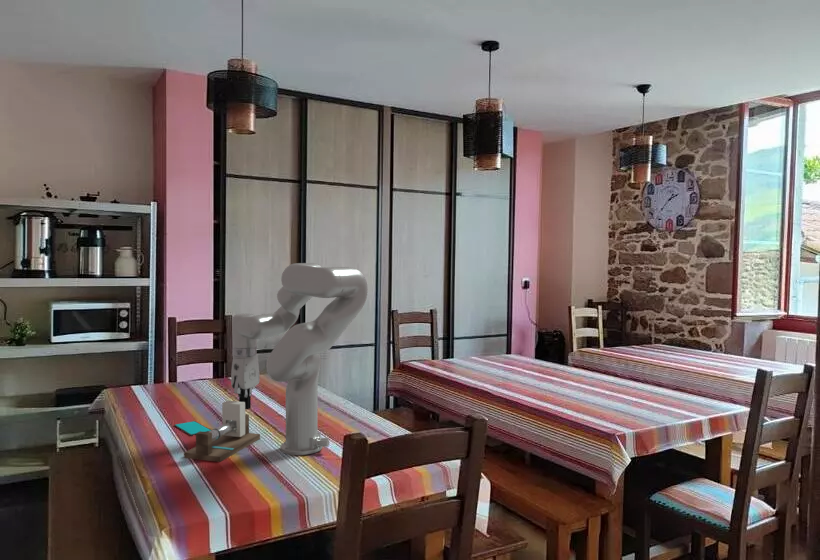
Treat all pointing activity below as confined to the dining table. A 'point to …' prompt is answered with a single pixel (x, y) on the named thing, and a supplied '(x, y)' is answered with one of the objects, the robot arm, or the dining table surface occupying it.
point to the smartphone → (192, 427)
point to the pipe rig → (221, 442)
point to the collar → (234, 416)
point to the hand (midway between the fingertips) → (244, 408)
